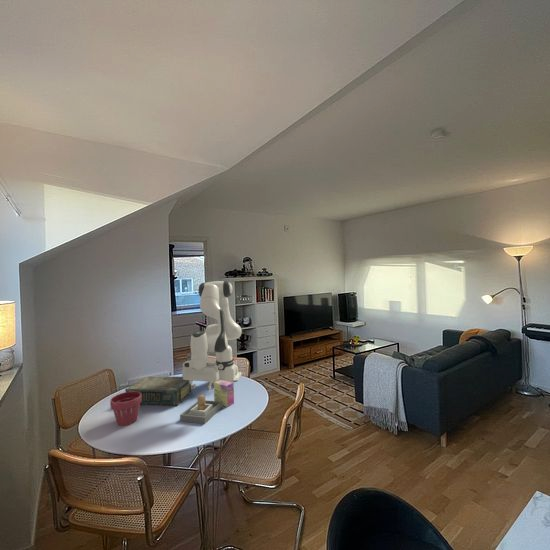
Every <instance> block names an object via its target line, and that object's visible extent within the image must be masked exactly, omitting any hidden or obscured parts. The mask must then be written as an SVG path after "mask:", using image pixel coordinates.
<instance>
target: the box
mask: <svg viewBox="0 0 550 550" xmlns="http://www.w3.org/2000/svg"><path fill="white" fill-rule="evenodd" d="M234 383H235V382H228V381H224V380H218V381H216V382H213V401H218V402H222V407H223V406H224V407H226V408H229V407H230V406H232V405H233V404H235V389H234V388H235V387H234V386H235V385H234Z"/></svg>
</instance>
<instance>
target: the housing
mask: <svg viewBox="0 0 550 550" xmlns="http://www.w3.org/2000/svg"><path fill="white" fill-rule="evenodd" d="M205 404H206V409H205V410H198V401H197V400H196V402H194V404H192V405H191V406H189V407H188V408H187V409H185V410H184V411H183V412H182V413H181V414H179V418H180V419H179V421H180V422H186V423H195V424H203V425H204V424H205V425H206V424H207V423H208V421H210V419H212V418H213V416H215V415H216V414H217V413H218V412H219V411H220V410H221V409H222V407H223V405H222V402H218V401H214V400H206V399H205Z"/></svg>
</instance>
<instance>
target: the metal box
mask: <svg viewBox="0 0 550 550" xmlns="http://www.w3.org/2000/svg"><path fill="white" fill-rule="evenodd" d="M130 391H138V392H140V393H141V394H142V401H141V403H140V406H166V407H168V406H169V407H177V406H179V405H180V404H181V403H182V402H183V401H184V400H185V399H186V398H187V397H188V396H189V395H190V394H192V388H191V385H190V383H189V380H184V379H183V378H182V376H168V375H167V376H145V377H141V378H140V379H139V380H138V381H136V382H134V383H132V384H130V385H129V386H128V387H127V388H126V387H125V392H130Z"/></svg>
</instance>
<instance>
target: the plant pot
mask: <svg viewBox="0 0 550 550" xmlns="http://www.w3.org/2000/svg"><path fill="white" fill-rule="evenodd" d="M141 401H142V394H141V393H140V392H138V391H130V392H126V391H125V392H122V393H119V394H116V395H115V396H113V397H111V398H110V403H109V404H110V409H111V410H112V411H113V415H114V418H115V421H116V423H117V425H118V426H119V427H125V426H129V425H132V424H134V423H135V422H137V420H138V418H139V410H140V406H141V405H140V403H141Z"/></svg>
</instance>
